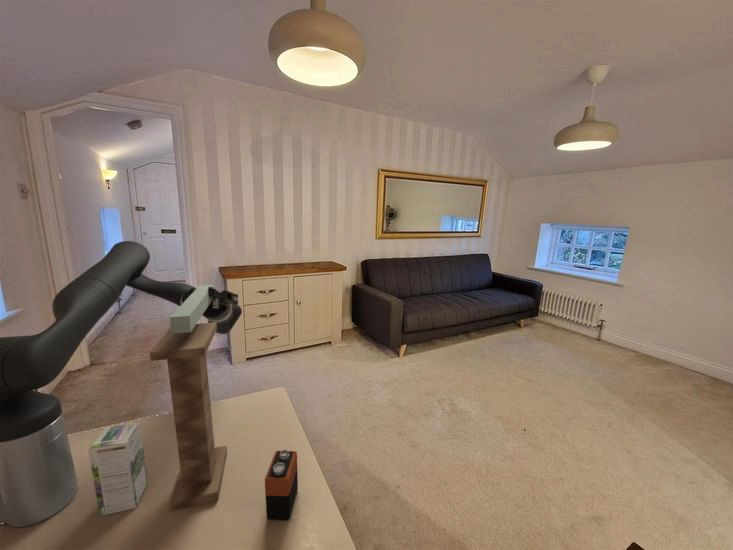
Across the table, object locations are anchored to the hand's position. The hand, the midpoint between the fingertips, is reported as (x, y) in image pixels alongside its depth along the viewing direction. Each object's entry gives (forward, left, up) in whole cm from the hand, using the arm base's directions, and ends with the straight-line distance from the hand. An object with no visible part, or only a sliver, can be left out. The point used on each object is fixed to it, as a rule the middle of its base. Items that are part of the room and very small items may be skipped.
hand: (201, 291), depth 67 cm
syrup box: (-13, -14, -37) cm, 42 cm away
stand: (0, -13, -37) cm, 39 cm away
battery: (+16, -23, -37) cm, 47 cm away
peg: (0, -6, -3) cm, 6 cm away
